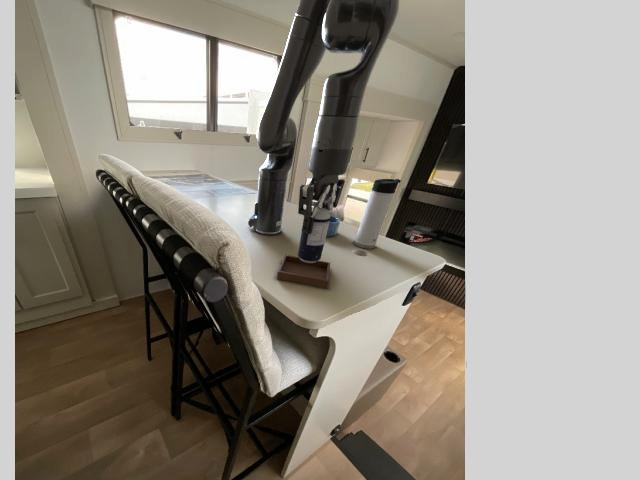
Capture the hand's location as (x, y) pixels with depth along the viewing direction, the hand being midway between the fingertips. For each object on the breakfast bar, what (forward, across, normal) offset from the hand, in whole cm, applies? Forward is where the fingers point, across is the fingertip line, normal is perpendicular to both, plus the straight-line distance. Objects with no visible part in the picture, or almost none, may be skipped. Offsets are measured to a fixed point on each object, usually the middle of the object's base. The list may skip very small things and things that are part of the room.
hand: (314, 229), depth 58 cm
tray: (+12, 0, 0) cm, 12 cm away
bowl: (+12, -31, -14) cm, 35 cm away
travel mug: (+12, -32, +2) cm, 34 cm away
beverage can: (+8, 0, 0) cm, 8 cm away
